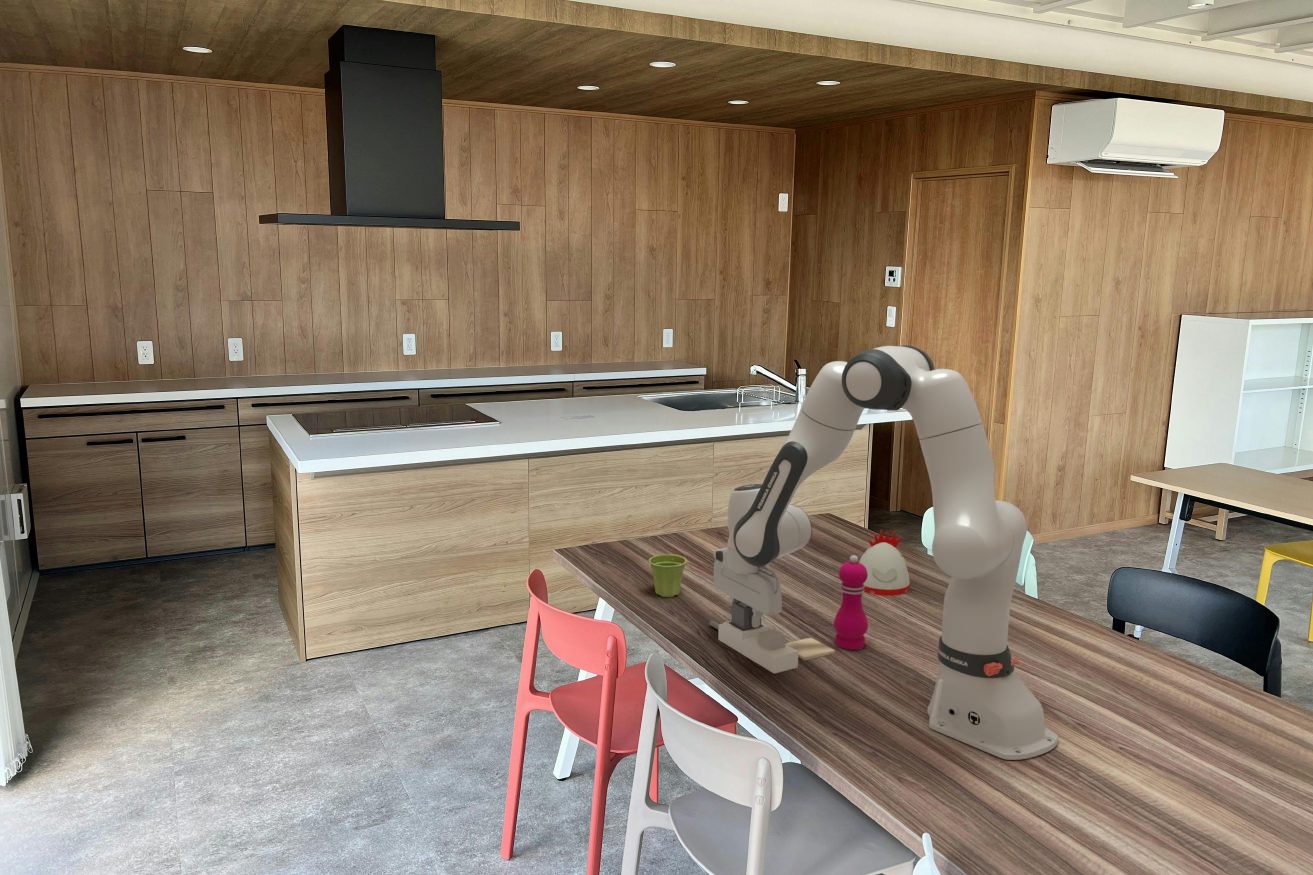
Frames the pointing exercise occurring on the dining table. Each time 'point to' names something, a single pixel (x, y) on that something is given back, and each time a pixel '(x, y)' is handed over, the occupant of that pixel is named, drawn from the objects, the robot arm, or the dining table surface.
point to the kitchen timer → (885, 567)
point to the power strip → (759, 646)
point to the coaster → (810, 648)
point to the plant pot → (667, 574)
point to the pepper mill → (851, 606)
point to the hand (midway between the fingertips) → (746, 621)
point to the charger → (742, 616)
